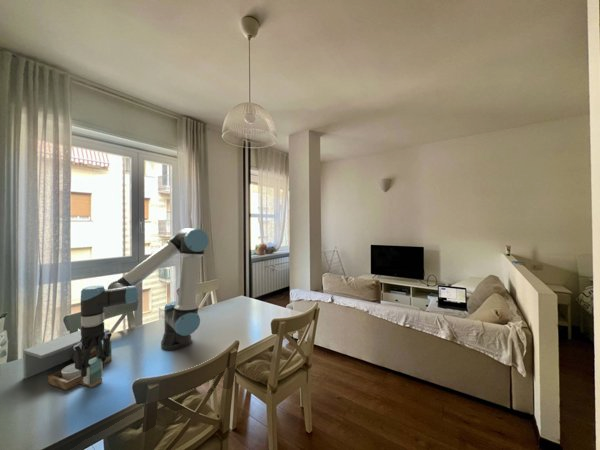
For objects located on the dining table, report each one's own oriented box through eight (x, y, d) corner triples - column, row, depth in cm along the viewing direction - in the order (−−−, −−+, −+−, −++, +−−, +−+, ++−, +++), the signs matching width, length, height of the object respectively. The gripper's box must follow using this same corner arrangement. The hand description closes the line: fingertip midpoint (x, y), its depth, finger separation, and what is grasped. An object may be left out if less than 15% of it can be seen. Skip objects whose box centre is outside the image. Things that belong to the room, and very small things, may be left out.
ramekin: (58, 385, 102) (57, 375, 102) (64, 374, 110) (64, 364, 110) (85, 378, 106) (85, 368, 106) (90, 368, 114) (90, 359, 114)
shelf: (109, 353, 127) (109, 329, 127) (41, 384, 102) (41, 355, 102) (92, 348, 132) (92, 326, 132) (23, 377, 107) (23, 349, 107)
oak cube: (98, 355, 125) (98, 345, 125) (88, 360, 120) (87, 350, 120) (89, 354, 126) (89, 344, 126) (79, 359, 121) (79, 349, 121)
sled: (113, 375, 108) (113, 353, 108) (78, 394, 96) (78, 370, 96) (83, 366, 115) (83, 345, 115) (47, 383, 103) (47, 360, 103)
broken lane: (116, 357, 123) (116, 338, 123) (96, 367, 114) (96, 346, 114) (93, 351, 129) (93, 332, 129) (72, 360, 121) (72, 340, 121)
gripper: (108, 315, 112) (109, 366, 112) (61, 330, 96) (62, 390, 96) (120, 317, 110) (120, 370, 110) (73, 333, 94) (74, 395, 94)
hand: (93, 379), depth 103 cm, fingers closed on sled, 4 cm apart
